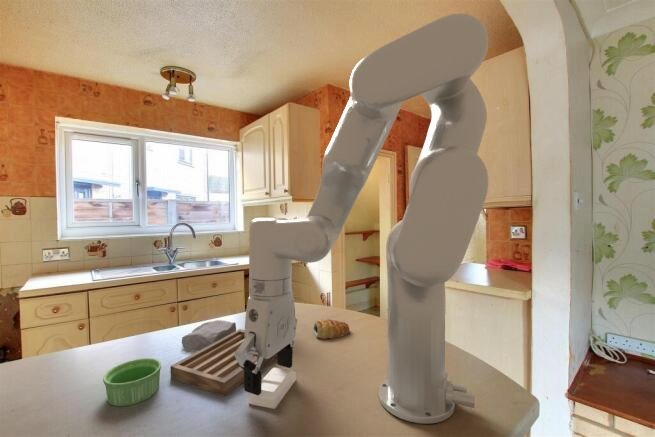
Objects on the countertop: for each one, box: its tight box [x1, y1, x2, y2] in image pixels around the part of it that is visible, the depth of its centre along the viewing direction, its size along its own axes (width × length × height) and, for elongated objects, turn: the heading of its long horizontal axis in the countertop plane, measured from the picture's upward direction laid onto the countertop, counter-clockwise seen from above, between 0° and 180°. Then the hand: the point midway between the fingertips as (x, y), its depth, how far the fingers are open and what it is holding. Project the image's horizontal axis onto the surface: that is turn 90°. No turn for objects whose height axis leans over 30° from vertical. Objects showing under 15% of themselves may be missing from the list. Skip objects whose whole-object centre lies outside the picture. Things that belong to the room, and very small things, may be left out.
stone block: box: [181, 319, 237, 352], centre depth 79 cm, size 12×5×10 cm
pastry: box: [313, 318, 350, 340], centre depth 83 cm, size 9×7×4 cm
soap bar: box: [248, 367, 297, 410], centre depth 57 cm, size 5×9×3 cm, turn 163°
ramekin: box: [102, 357, 162, 407], centre depth 57 cm, size 9×9×4 cm
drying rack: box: [169, 328, 277, 397], centre depth 68 cm, size 14×20×2 cm
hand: (269, 378), depth 57 cm, fingers open, 9 cm apart
